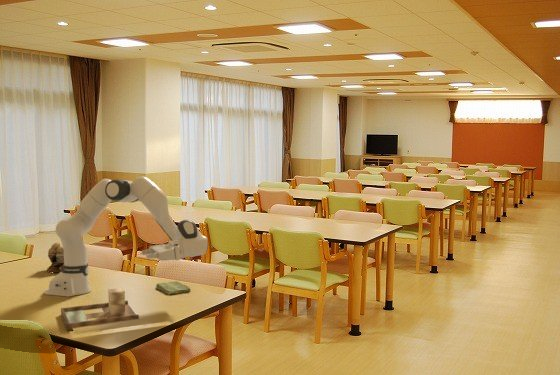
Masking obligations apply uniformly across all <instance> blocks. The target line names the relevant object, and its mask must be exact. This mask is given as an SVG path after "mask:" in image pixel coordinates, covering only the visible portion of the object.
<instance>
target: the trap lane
mask: <svg viewBox="0 0 560 375" xmlns="http://www.w3.org/2000/svg"><path fill="white" fill-rule="evenodd" d="M95 309H102V311H99V312H93V313H91V312H90V313H85V311H88V310H95ZM60 315H61V318H62V321H63V325H64V326H65V329H66V331H67V332H72V331H74V329H73V328H76V327H77V328H78V327H83V326H84V327H85V326H91V325H99V324H107V323H117V322H122V321H131V320H137V319H139V318H140V315H139V314H136V313H135V311H134V310H133V309H132V308H131V306H130V305H129V300H126V299H125V314H119V315H111V314H110V313H109V302H101V303H93V304H92V303H91V304H86V305H85V304H84V305H77V306H76V305H75V306H68V307H61V308H60ZM105 317H106V318H105ZM97 318H99V319H97Z"/></svg>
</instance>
